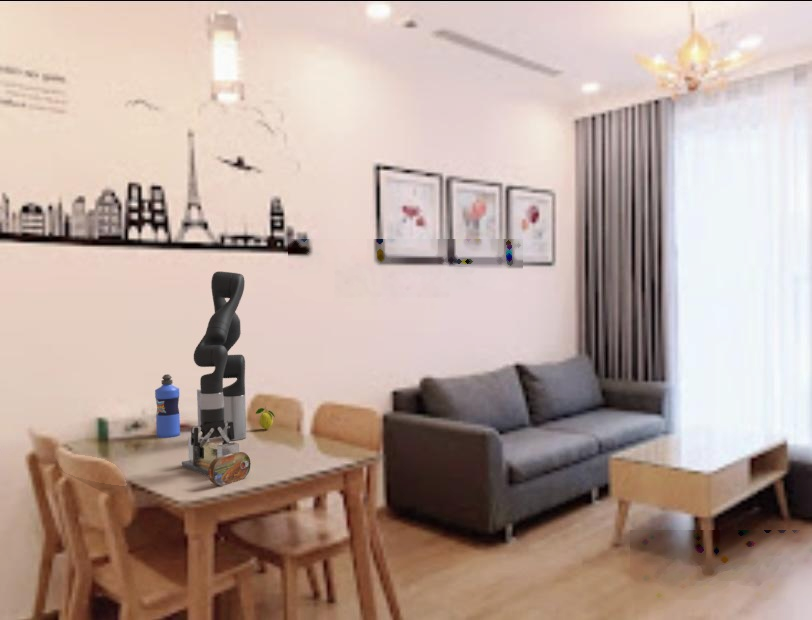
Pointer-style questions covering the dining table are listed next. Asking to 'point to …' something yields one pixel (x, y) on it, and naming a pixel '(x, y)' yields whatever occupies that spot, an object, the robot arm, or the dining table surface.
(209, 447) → the block
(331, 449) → the dining table surface
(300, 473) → the dining table surface
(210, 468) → the tin
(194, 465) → the stand
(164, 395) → the water bottle
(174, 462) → the dining table surface
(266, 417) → the lemon
